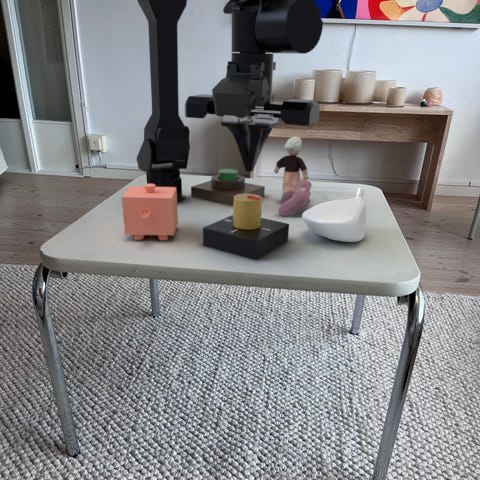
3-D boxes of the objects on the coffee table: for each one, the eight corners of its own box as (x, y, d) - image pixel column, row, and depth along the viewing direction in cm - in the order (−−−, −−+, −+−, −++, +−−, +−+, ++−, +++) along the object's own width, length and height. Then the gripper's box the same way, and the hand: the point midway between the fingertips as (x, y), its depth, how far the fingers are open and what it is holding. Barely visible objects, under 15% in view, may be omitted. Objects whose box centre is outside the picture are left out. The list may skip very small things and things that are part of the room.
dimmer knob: (227, 226, 75) (228, 195, 73) (242, 219, 78) (243, 190, 76) (251, 231, 73) (252, 200, 71) (265, 224, 76) (267, 194, 74)
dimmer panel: (203, 245, 76) (202, 226, 74) (237, 229, 83) (237, 211, 82) (256, 260, 71) (257, 240, 70) (288, 241, 78) (289, 222, 77)
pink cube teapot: (121, 247, 74) (116, 195, 70) (135, 223, 84) (131, 175, 80) (172, 248, 74) (169, 196, 70) (179, 224, 85) (177, 176, 81)
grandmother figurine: (309, 202, 98) (316, 137, 92) (304, 206, 95) (310, 139, 89) (274, 197, 101) (278, 133, 94) (268, 201, 98) (272, 136, 91)
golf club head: (391, 186, 79) (346, 164, 72) (381, 249, 80) (336, 234, 72) (341, 192, 87) (296, 173, 80) (332, 250, 88) (287, 236, 80)
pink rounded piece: (296, 226, 90) (316, 194, 87) (275, 214, 89) (295, 181, 86) (298, 210, 98) (317, 181, 95) (279, 199, 98) (297, 169, 94)
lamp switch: (214, 179, 98) (214, 171, 98) (225, 176, 101) (225, 168, 101) (230, 182, 97) (230, 174, 96) (241, 179, 100) (241, 170, 99)
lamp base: (191, 197, 100) (190, 177, 98) (218, 187, 107) (218, 169, 105) (238, 207, 94) (239, 187, 92) (264, 196, 102) (265, 177, 100)
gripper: (161, 51, 61) (168, 175, 68) (302, 53, 55) (292, 190, 62) (201, 52, 70) (203, 162, 77) (325, 54, 64) (314, 173, 71)
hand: (249, 171), depth 72 cm, fingers closed
